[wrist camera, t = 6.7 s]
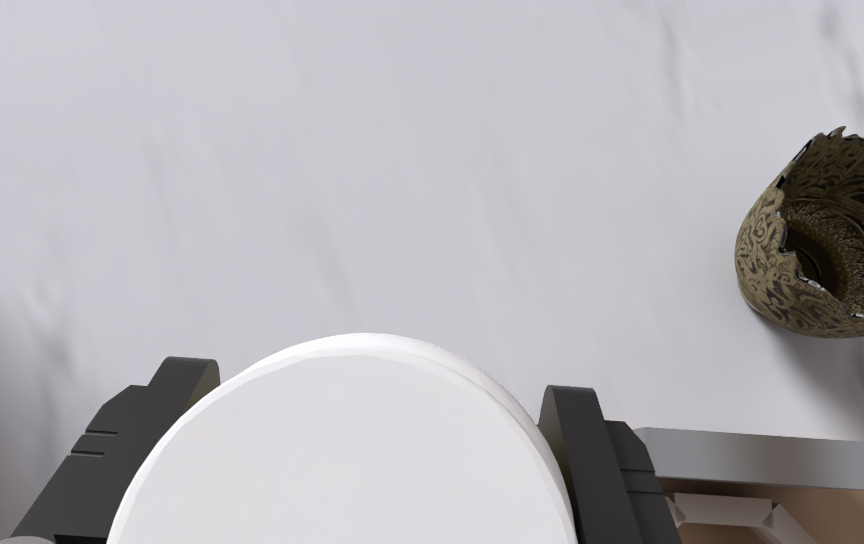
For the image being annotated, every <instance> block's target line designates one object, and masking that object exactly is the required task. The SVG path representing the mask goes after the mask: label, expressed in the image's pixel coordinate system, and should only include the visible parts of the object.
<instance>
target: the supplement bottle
mask: <svg viewBox="0 0 864 544" xmlns="http://www.w3.org/2000/svg"><path fill="white" fill-rule="evenodd" d="M106 544H578V541H577V537H576V532H575V525H574V519H573V512H572V508H571V504H570V500H569V496H568V493H567V489H566V486H565V483H564V479H563V477H562V474H561V471H560V469H559V466H558V463H557V461H556V459H555V457H554V455H553V453H552V451H551V449H550V447H549V445H548V443H547V441H546V439H545V438H544V436H543V435H542V433H541V432H540V430H539V429H538V427H537V426H536V424H535V423H534V421H533V420H532V418H531V417H530V415H529V414H528V413H527V412H526V410H525V409H524V408H523V407H522V406H521V405H520V403H519V402H518V401H517V400H516V399H515V398H514V397H513V396H512V395H511V394H510V393H509V392H508V391H507V390H506V389H505V388H504V387H503V386H502V385H501V384H500V383H498V382H497V381H496V380H495V379H493V378H492V377H491V376H490V375H489V374H487V373H486V372H485V371H483V370H482V369H480V368H478V367H477V366H475V365H474V364H472V363H471V362H469V361H467V360H466V359H464V358H462V357H460V356H458V355H456V354H455V353H453V352H450V351H448V350H446V349H444V348H441V347H439V346H436V345H433V344H430V343H428V342H424V341H421V340H417V339H413V338H408V337H403V336H397V335H392V334H380V333H353V334H342V335H335V336H330V337H325V338H320V339H316V340H312V341H308V342H304V343H301V344H297V345H295V346H292V347H289V348H286V349H284V350H282V351H279V352H277V353H275V354H273V355H271V356H269V357H267V358H265V359H263V360H261V361H259V362H257V363H256V364H254V365H252V366H251V367H249V368H248V369H246V370H245V371H243V372H242V373H240V374H238V375H237V376H235V377H233V378H232V379H230V380H228V381H227V382H225V383H223V384H222V385H220V386H218V387H217V388H216V389H214V390H213V391H211V392H210V393H209V394H207V395H206V396H205V397H203V398H202V399H201V400H200V401H198V402H197V403H196V404H195V405H194V406H193V407H192V408H191V409H189V410H188V411H187V412H186V413H185V414H184V415H183V416H181V417H180V418H179V419H178V420H177V422H176V423H175V424H174V425H173V426H172V427H171V428H170V429H169V430H168V432H167V433H166V434H165V435H164V436H163V437H162V438H161V439H160V441H159V442H158V443H157V444H156V446H155V447H154V449H153V450H152V451H151V453H150V454H149V456H148V457H147V459H146V460H145V461H144V463H143V464H142V466H141V467H140V468H139V470H138V472H137V473H136V475H135V477H134V479H133V480H132V482H131V484H130V486H129V487H128V489H127V491H126V493H125V495H124V497H123V500H122V502H121V504H120V506H119V509H118V511H117V513H116V516H115V518H114V521H113V524H112V527H111V530H110V533H109V537H108V540H107V543H106Z"/></svg>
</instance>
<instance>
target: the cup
mask: <svg viewBox="0 0 864 544" xmlns="http://www.w3.org/2000/svg"><path fill="white" fill-rule="evenodd" d="M845 128H846V126H841V127H839V128H837V129H835V130H833V131H832V132H831V133H829V134H828V135H827V136H826V135H824V134H823V133H819V134H817V135H816V136H814V137H813V138H812V139H811V140H810V141H809V142H808V143H807V144H806V145H805V146H804V147H803V148H802V149H801V151H800V152H799V153H798V154H797V155H796V156H795V157H794V158H793V160H792V161H790V163H789V164H788V165H787V166H786V167H785V168H784V170H783V171H782V172H781V173H780V174H779V175H778V176H777V177H776V179H775V180H774V181H773V182H772V183H771V184H770V185H769V187H768V188H767V189H766V190H765V191H764V192H763V194H762V195H761V196H760V197H759V199H758V200H757V201H756V202H755V204H754V205H753V207H752V208H751V209H750V211H749V213H748V214H747V216H746V217H745V219H744V221H743V223H742V225H741V228H740V230H739V233H738V236H737V240H736V246H735V267H736V272H737V281H738V286H739V290H740V292H741V294H742V296H743V298H744V299H745V301H746V302H747V303H748V304H749V305H750V306H751V307H752V308H753V309H754V310H756V311H757V312H759V313H760V314H762V315H764V316H765V317H767V318H768V319H770V320H771V321H772V322H774V323H776V324H777V325H779V326H781V327H783V328H785V329H788V330H790V331H793V332H796V333H799V334H802V335H806V336H812V337H820V338H852V337H862V336H864V138H863V137H859V136H858V135H857V134H853V135H849V136H847V137H846V136H844V137H842V132H843V130H845Z"/></svg>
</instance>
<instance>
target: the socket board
mask: <svg viewBox="0 0 864 544" xmlns="http://www.w3.org/2000/svg"><path fill="white" fill-rule="evenodd" d="M536 426H537V427H538V425H536ZM632 431H633V432H634V433H635V434H636V435H637V436H638V437H639V438H640V439H641V441H642V442H643V443H644V444H645V445H646V448H647V450H648V453H649V455H650V458H651V461H652V463H653V466H654V469H655V476H657V477H658V479H659V482H660V485H661V487H662V490H663V493H664V494H663V497H664V499H666V501H667V503H668V506H669V509H670V511H671V514H672V517H673V519H674V522H675V525H676V527H677V530H678V532H679V535H680V538H681V540H682V543H683V544H864V442H856V441H842V440H827V439H812V438H797V437H782V436H768V435H753V434H738V433H723V432H708V431H694V430H679V429H664V428H649V427H644V428H639V429H634V430H632Z"/></svg>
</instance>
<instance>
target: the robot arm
mask: <svg viewBox="0 0 864 544" xmlns="http://www.w3.org/2000/svg"><path fill="white" fill-rule="evenodd" d="M218 386H220V375H219V367H218V364H217V362H216V360H213V359H199V358H185V357H172V356H169V357H167V358H166V359H165V360H164V361H163V362H162V364H161V366H160V367H159V369H158V370H157V372H156V373H155V375H154V377H153V378H152V380H151V381H150V383H149V384H148V386H137V385H130V386H128V387H127V388H126V389H124V390H123V391H122V392H120V393H119V394H117V395H116V396H115V397H113V398H112V399H111V400H109V401H108V402H106V403H105V404H104V405H102V407H101V408H100V410H99V411H98V413H97V414H96V415H95V417H94V418H93V420H92V421H91V423H90V424H89V425H88V427H87V428H86V432H85V435H81V437H80V438H79V440H78V441H77V443H76V444H75V445H74V447H73V448H72V450H71V455H70V456H68V455H67V457H66V458H65V460H64V461H63V463H62V464H61V465H60V467H59V468H58V470H57V471H56V472H55V474H54V475H53V477H52V478H51V480H50V481H49V482H48V484H47V485H46V487H45V488H44V490H43V491H42V492H41V494H40V495H39V497H38V498H37V500H36V501H35V502H34V504H33V505H32V507H31V508H30V510H29V511H28V512H27V514H26V515H25V517H24V518H23V520H22V521H21V522H20V524H19V525H18V527H17V528H16V530H15V531H14V532H13V534H12V535H11V536H10V538H6V539H3V540H0V544H106V543H107V540H108V537H109V533H110V530H111V527H112V524H113V521H114V518H115V516H116V513H117V511H118V509H119V506H120V504H121V502H122V500H123V497H124V495H125V493H126V491H127V489H128V487H129V486H130V484H131V482H132V480H133V479H134V477H135V475H136V473H137V472H138V470H139V468H140V467H141V466H142V464H143V463H144V461H145V460H146V459H147V457H148V456H149V454H150V453H151V451H152V450H153V449H154V447H155V446H156V444H157V443H158V442H159V441H160V439H161V438H162V437H163V436H164V435H165V434H166V433H167V432H168V430H169V429H170V428H171V427H172V426H173V425H174V424H175V423H176V422H177V420H178V419H179V418H180V417H181V416H183V415H184V414H185V413H186V412H187V411H188V410H189V409H191V408H192V407H193V406H194V405H195V404H196V403H197V402H198V401H200V400H201V399H202V398H203V397H205V396H206V395H207V394H209V393H210V392H211V391H213V390H214V389H216V388H217V387H218ZM538 429H539V430H540V432H541V433H542V435H543V436H544V438H545V439H546V441H547V443H548V445H549V447H550V449H551V451H552V453H553V455H554V457H555V459H556V461H557V463H558V466H559V469H560V471H561V474H562V477H563V479H564V483H565V486H566V489H567V493H568V496H569V500H570V504H571V508H572V512H573V519H574V525H575V532H576V537H577V541H578V544H683V543H682V540H681V538H680V535H679V532H678V530H677V527H676V525H675V522H674V519H673V517H672V514H671V511H670V509H669V506H668V503H667V501H666V499H664V497H663V494H664V493H663V490H662V487H661V485H660V482H659V479H658V477H657V476H655V469H654V466H653V463H652V461H651V458H650V455H649V453H648V450H647V448H646V445H645V444H644V443H643V442H642V441H641V439H640V438H639V437H638V436H637V435H636V434H635V433H634V432H633V431H632V429H631V428H630V427H629V426H628V425H627V424H626V423H625V422H622V421H609V420H604V418H603V414H602V411H601V408H600V405H599V402H598V398H597V395H596V393H595V391H594V389H593V388H583V387H570V386H556V385H548V386H547V387H546V390H545V393H544V397H543V402H542V408H541V413H540V418H539V423H538Z"/></svg>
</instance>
